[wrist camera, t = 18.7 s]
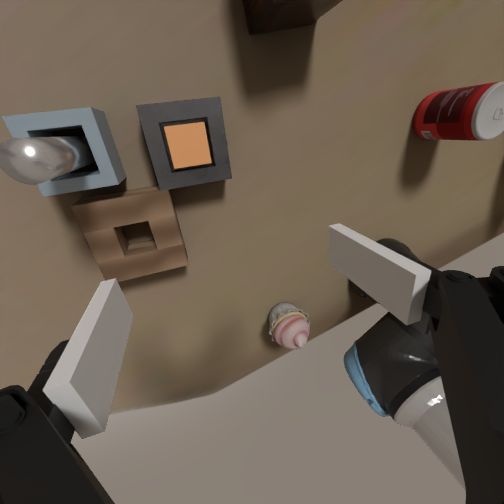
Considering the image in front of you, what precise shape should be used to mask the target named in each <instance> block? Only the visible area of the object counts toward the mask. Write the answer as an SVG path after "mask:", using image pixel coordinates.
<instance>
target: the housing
mask: <svg viewBox="0 0 504 504" xmlns="http://www.w3.org/2000/svg"><path fill="white" fill-rule="evenodd" d="M136 108H137V111H138V115H139V118H140V122H141V125H142V129H143V132H144V136H145V139H146V143H147V146H148V150H149V153H150V157H151V160H152V163H153V167H154V170H155V174H156V177H157V181H158V184H159V188H160V191H163V190H169V189H174V188H180V187H186V186H192V185H197V184H203V183H209V182H214V181H220V180H226V179H232V175H231V168H230V162H229V155H228V148H227V141H226V135H225V128H224V121H223V114H222V108H221V101H220V97H213V98H203V99H193V100H184V101H174V102H164V103H154V104H145V105H136ZM198 122H204V124H205V129H206V135H207V140H208V146H209V151H210V157H211V162H212V163H208V164H202V165H196V166H189V167H183V168H177V169H174V165H173V161H172V157H171V153H170V149H169V145H168V141H167V137H166V133H165V129H164V127H165V126H174V125H182V124H190V123H198Z"/></svg>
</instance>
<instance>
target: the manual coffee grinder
mask: <svg viewBox="0 0 504 504" xmlns="http://www.w3.org/2000/svg"><path fill="white" fill-rule="evenodd" d="M242 1H243V6H244V11H245V16H246V21H247V25H248V30H249V34H264V33H269V32H274V31H280V30H285V29H290V28H295V27H300V26H305V25H310V24H312V23H313V22H315V21H316V20H318V19H319V18H320V17H321V16H322V15H324V14H325V13H326V12H328V11H329V10H330V9H332V8H333V7H334V6H336V5H337V4H338V3H340V2H341V1H342V0H242Z"/></svg>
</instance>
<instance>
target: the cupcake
mask: <svg viewBox="0 0 504 504" xmlns="http://www.w3.org/2000/svg"><path fill="white" fill-rule="evenodd" d="M269 322H270V330H269V334H270V335H272V341H276V342H277V343H278V344H279V345H281V346H284V347H286V348H289V349H300V348H302V347H303V346H304V345H305V344H306V342H307V338H308V336H309V330H310V326H309V324H310V321H309V320H308V314H306V313H304V312H303V311H302V310H301V309H297V308H296V307H295V306H293V305H292V304H290V303H286V302H284V303H280V304H277V305H276V306H275V307H273V308H272V310H271V311H270V313H269Z"/></svg>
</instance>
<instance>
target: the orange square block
mask: <svg viewBox="0 0 504 504" xmlns="http://www.w3.org/2000/svg"><path fill="white" fill-rule="evenodd" d="M164 129H165V133H166V137H167V141H168V145H169V149H170V153H171V157H172V161H173V165H174V169H177V168H183V167H189V166H196V165H202V164H208V163H212V162H211V157H210V151H209V146H208V140H207V135H206V129H205V124H204V122H198V123H190V124H182V125H174V126H165V127H164Z"/></svg>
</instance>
